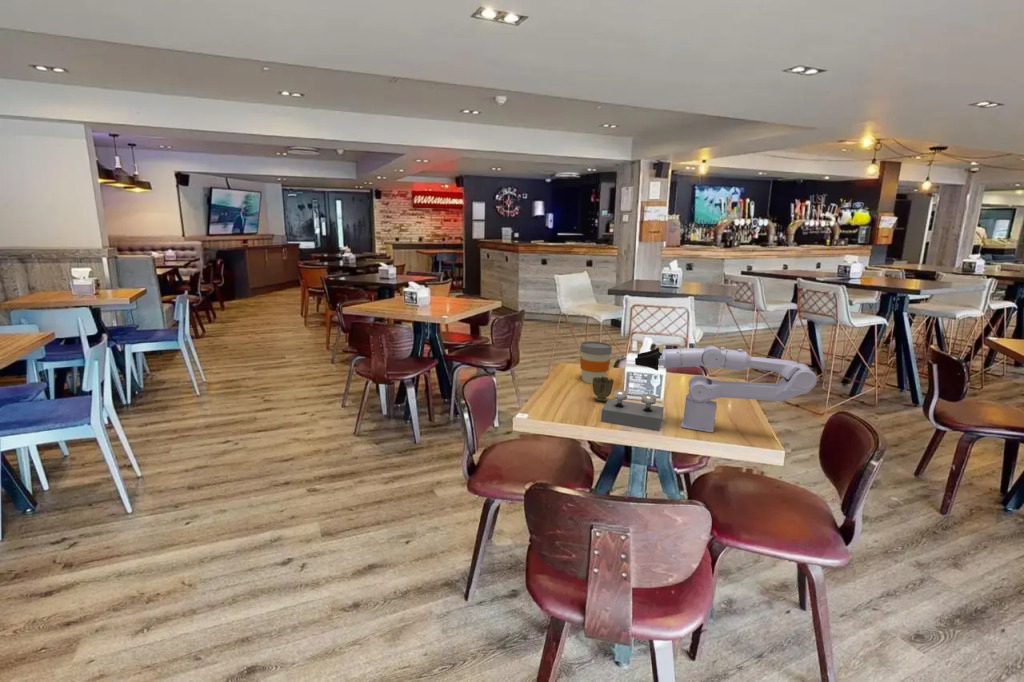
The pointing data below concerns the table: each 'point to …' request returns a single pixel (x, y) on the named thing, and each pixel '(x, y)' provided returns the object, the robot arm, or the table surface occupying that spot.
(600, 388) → the cup
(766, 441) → the table surface
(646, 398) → the knob near
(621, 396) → the knob outer
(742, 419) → the table surface
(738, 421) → the table surface
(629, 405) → the knob mount
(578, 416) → the table surface
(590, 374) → the reusable coffee cup
